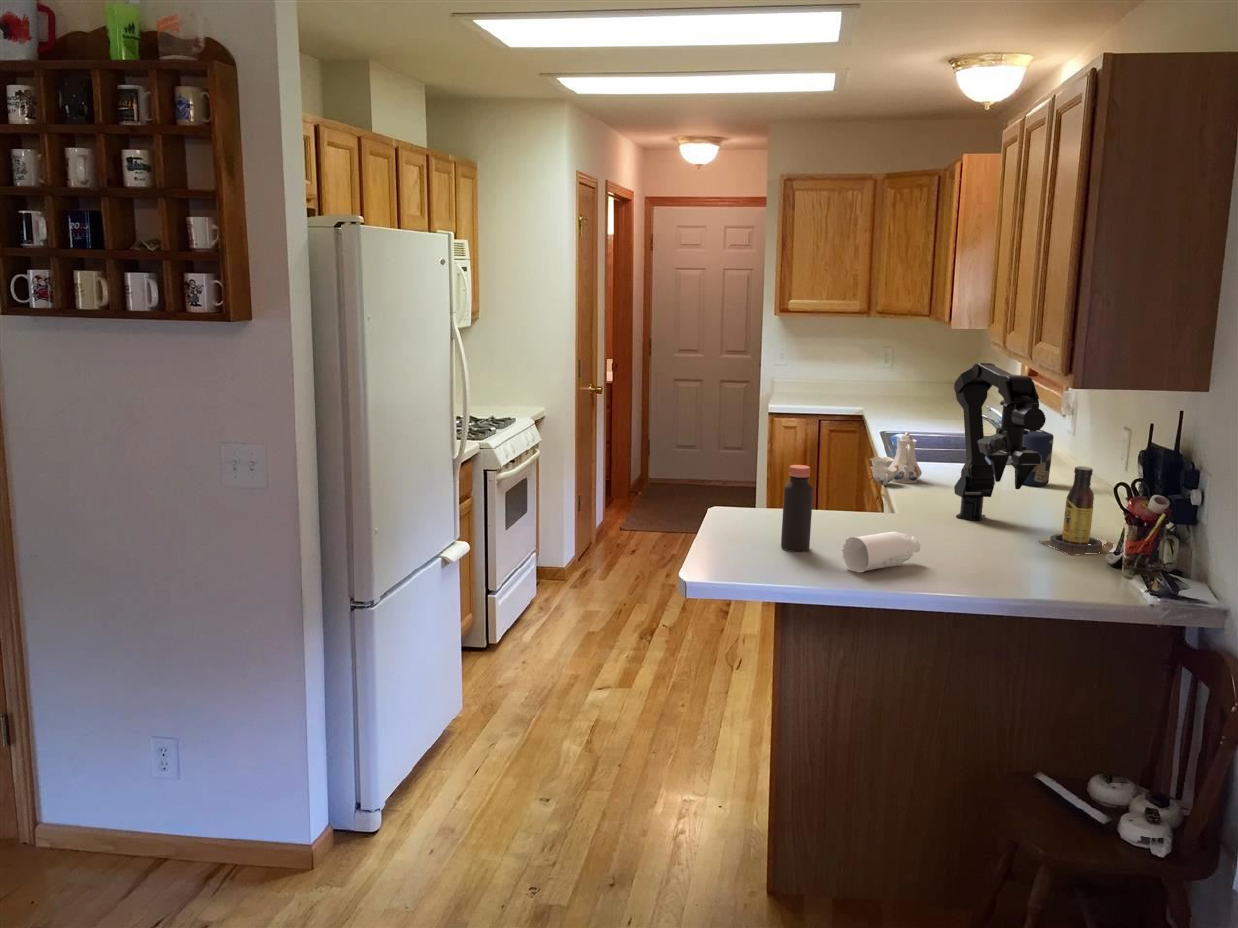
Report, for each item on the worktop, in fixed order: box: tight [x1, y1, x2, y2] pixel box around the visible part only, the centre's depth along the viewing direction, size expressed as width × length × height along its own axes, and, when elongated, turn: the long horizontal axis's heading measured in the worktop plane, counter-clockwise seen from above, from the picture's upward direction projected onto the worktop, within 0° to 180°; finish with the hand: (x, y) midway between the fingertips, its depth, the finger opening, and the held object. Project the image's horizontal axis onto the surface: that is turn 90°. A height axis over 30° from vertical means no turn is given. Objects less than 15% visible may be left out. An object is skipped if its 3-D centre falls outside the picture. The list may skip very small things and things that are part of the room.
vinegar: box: [780, 464, 814, 552], centre depth 250 cm, size 7×7×20 cm
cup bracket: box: [1039, 533, 1114, 555], centre depth 260 cm, size 18×12×2 cm, turn 105°
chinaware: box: [869, 431, 922, 486], centre depth 337 cm, size 28×17×17 cm, turn 172°
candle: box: [1023, 429, 1054, 487], centre depth 335 cm, size 10×10×18 cm
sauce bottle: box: [1062, 465, 1095, 545], centre depth 258 cm, size 7×6×20 cm
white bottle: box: [841, 531, 921, 573], centre depth 238 cm, size 8×19×8 cm, turn 121°
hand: (1007, 485), depth 268 cm, fingers open, 9 cm apart
